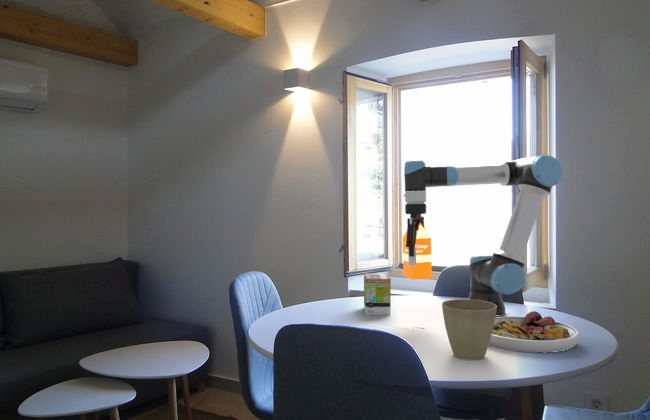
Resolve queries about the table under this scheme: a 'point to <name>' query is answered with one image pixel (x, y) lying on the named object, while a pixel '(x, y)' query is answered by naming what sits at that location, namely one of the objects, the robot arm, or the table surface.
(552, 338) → the plate of food
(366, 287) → the tea box
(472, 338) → the plant pot
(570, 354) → the table surface
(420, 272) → the orange juice
